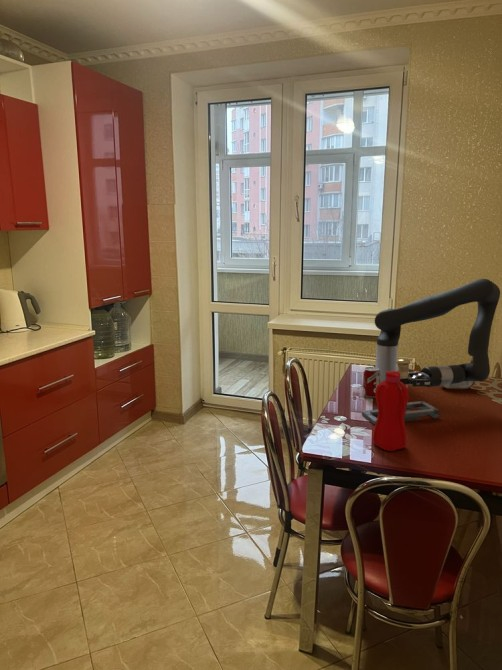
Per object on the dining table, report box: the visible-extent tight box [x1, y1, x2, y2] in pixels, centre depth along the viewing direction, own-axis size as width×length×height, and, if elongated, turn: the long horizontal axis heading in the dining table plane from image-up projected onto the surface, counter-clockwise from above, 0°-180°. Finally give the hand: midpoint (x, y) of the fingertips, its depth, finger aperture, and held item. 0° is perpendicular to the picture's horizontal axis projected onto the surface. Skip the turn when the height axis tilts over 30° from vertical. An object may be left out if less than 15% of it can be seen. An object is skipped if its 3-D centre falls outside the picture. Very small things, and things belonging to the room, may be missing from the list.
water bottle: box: [372, 371, 410, 452], centre depth 152 cm, size 9×11×25 cm
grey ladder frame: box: [361, 400, 440, 426], centre depth 179 cm, size 26×10×3 cm, turn 103°
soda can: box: [362, 366, 380, 399], centre depth 200 cm, size 7×7×12 cm
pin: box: [396, 357, 411, 388], centre depth 176 cm, size 5×5×16 cm
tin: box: [441, 381, 476, 390], centre depth 208 cm, size 15×3×8 cm, turn 84°
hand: (395, 380), depth 175 cm, fingers closed on pin, 4 cm apart
